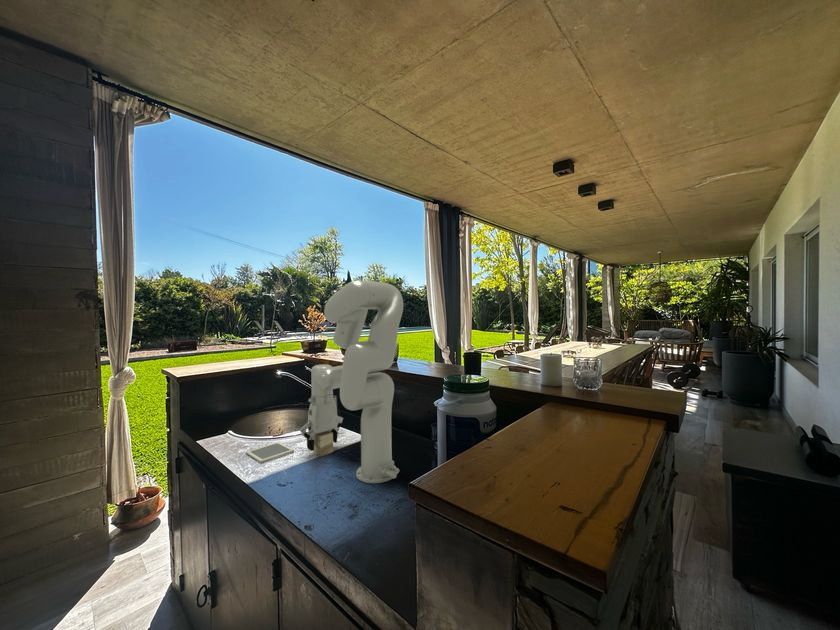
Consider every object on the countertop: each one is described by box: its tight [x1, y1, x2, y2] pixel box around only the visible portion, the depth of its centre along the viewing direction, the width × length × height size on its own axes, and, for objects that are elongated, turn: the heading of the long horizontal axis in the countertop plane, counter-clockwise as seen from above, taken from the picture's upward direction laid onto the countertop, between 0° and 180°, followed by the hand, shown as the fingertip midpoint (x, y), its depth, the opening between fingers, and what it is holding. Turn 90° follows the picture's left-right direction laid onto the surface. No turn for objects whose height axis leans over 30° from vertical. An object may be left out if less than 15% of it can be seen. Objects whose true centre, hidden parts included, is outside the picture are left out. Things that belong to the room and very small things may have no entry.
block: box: [312, 431, 334, 457], centre depth 125 cm, size 5×5×7 cm
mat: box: [245, 441, 295, 464], centre depth 124 cm, size 12×12×1 cm
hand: (322, 445), depth 125 cm, fingers open, 9 cm apart
